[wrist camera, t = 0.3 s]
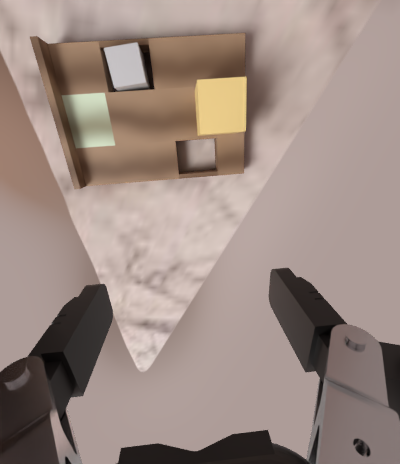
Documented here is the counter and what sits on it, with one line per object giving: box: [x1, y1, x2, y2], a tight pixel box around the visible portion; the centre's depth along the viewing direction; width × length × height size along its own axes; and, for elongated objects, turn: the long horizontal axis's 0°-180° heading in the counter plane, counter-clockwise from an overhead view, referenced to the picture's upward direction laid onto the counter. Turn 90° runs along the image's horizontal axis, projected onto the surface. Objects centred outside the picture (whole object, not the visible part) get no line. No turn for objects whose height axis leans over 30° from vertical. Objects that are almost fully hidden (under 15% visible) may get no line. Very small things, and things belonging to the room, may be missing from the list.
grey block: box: [104, 42, 150, 92], centre depth 28 cm, size 4×4×4 cm
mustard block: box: [195, 77, 247, 136], centre depth 27 cm, size 6×6×6 cm
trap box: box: [30, 33, 245, 189], centre depth 30 cm, size 17×25×4 cm
